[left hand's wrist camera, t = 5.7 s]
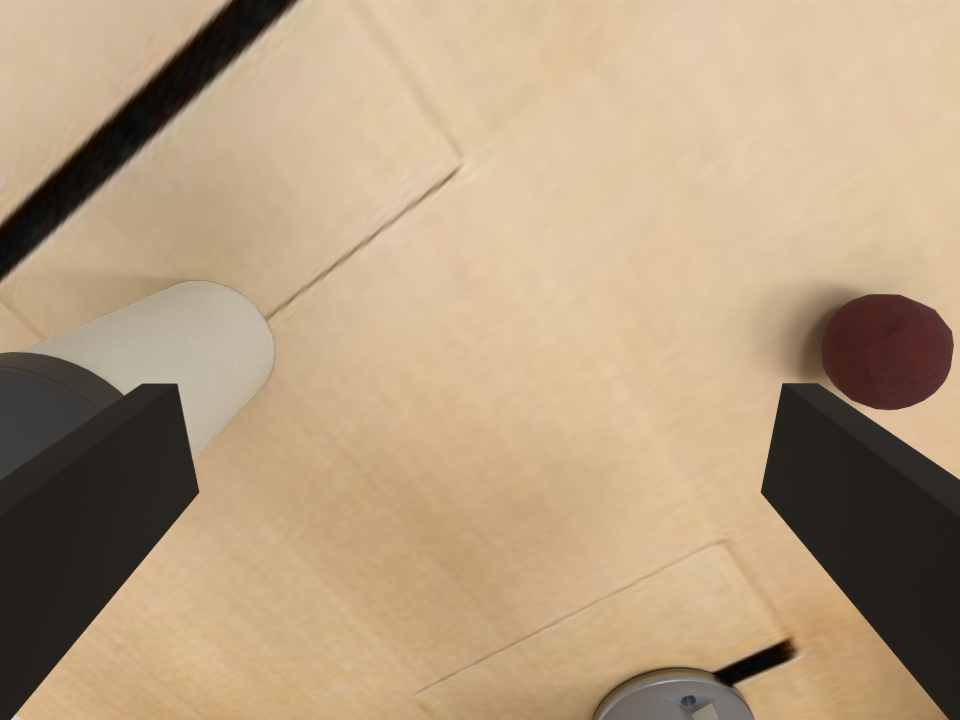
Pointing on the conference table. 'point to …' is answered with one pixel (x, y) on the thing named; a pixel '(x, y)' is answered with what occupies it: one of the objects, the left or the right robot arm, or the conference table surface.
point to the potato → (887, 351)
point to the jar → (179, 351)
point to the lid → (44, 403)
